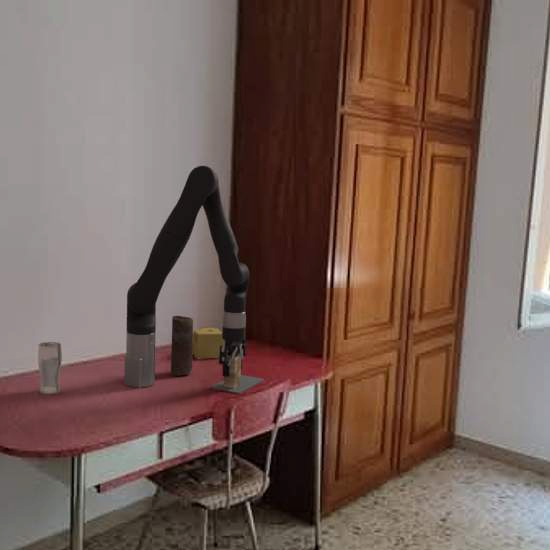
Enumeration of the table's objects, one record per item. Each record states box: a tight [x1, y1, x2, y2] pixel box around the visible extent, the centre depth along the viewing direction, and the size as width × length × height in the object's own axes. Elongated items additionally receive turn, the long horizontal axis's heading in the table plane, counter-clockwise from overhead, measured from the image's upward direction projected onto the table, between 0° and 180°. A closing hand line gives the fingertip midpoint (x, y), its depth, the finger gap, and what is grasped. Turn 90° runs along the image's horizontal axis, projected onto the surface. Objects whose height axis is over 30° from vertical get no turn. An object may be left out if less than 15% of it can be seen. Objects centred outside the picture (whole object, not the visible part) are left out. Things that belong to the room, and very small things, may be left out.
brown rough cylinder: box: [170, 315, 194, 377], centre depth 245 cm, size 8×7×20 cm
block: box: [223, 355, 242, 388], centre depth 233 cm, size 4×4×10 cm
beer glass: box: [37, 341, 63, 395], centre depth 220 cm, size 7×7×15 cm
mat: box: [209, 374, 265, 395], centre depth 238 cm, size 18×11×1 cm, turn 155°
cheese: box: [192, 327, 225, 360], centre depth 272 cm, size 10×11×10 cm
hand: (232, 373), depth 233 cm, fingers open, 8 cm apart
